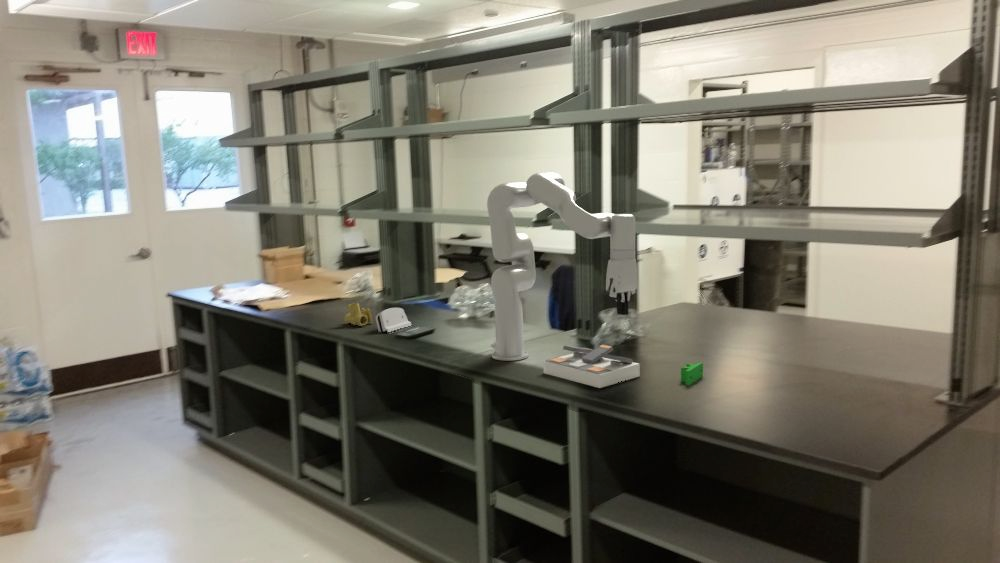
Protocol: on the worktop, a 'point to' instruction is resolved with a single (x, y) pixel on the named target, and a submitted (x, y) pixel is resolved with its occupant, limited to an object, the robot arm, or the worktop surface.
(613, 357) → the rocker
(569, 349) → the block
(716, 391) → the worktop surface
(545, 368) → the switch unit
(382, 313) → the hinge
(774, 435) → the worktop surface
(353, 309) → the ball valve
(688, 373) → the pipe clamp
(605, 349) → the rocker
